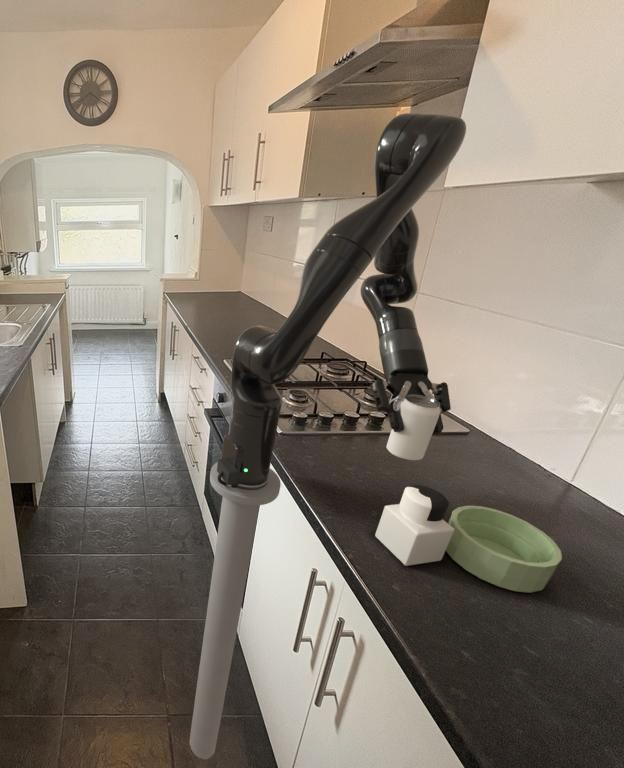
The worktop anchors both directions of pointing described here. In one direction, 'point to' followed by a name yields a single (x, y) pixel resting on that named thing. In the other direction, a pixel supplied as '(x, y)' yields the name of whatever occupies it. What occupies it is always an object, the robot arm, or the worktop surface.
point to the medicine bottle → (416, 526)
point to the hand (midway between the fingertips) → (417, 432)
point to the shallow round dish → (502, 549)
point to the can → (414, 427)
